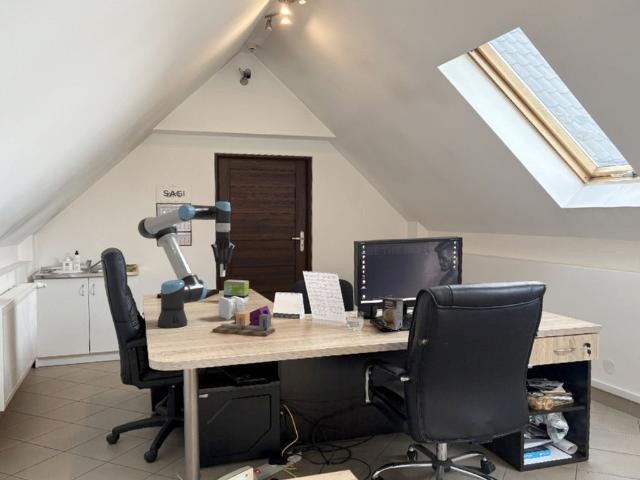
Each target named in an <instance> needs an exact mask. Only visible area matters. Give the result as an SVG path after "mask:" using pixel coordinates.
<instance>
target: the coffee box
mask: <svg viewBox="0 0 640 480" xmlns="http://www.w3.org/2000/svg"><path fill="white" fill-rule="evenodd" d="M381 305H382V307H381V326H382V325H383V326H386V327H390V328H392V329H395V330H397V329H399V328H401V327H402V328H403V314H404V313H403V311H404V310H403V309H404V299H402V298H397V297H389V296H388V297H382V304H381Z"/></svg>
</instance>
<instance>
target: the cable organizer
mask: <svg viewBox="0 0 640 480" xmlns="http://www.w3.org/2000/svg"><path fill="white" fill-rule="evenodd" d="M245 306H246V303H245V300H244V299H243V298H239V297H236V296H232V297H231V299H227V298H224V296H221V297H219V298H218V315H219V317H220V318H222V319H225V320H226V321H230V320H231V319H232V317H236V313H239V312H246V311H245V310H246V309H245V308H246V307H245Z"/></svg>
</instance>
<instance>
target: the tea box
mask: <svg viewBox="0 0 640 480" xmlns="http://www.w3.org/2000/svg"><path fill="white" fill-rule="evenodd" d="M249 293H250V281H249V280H246V279H245V280H242V279H227V280H224V281H223V298H227V299H231V297H232V296H236V297H239V298H243V299H244V300H245V302H246V303H247V302H249V296H250V295H249Z"/></svg>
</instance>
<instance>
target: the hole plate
mask: <svg viewBox="0 0 640 480" xmlns="http://www.w3.org/2000/svg"><path fill="white" fill-rule="evenodd" d="M211 330H212V333H220V334H221V333H222V334H232V335H243V336H244V335H245V336H259V337H268V336H270V335H271V334H274V333H275V332H276V328H274V327H273V328H271V327H269V330H267V331H265V330H264V331H261V330H253V329H239V328H227V327H221V325H219V326H217V327H214V328H212V329H211Z"/></svg>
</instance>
